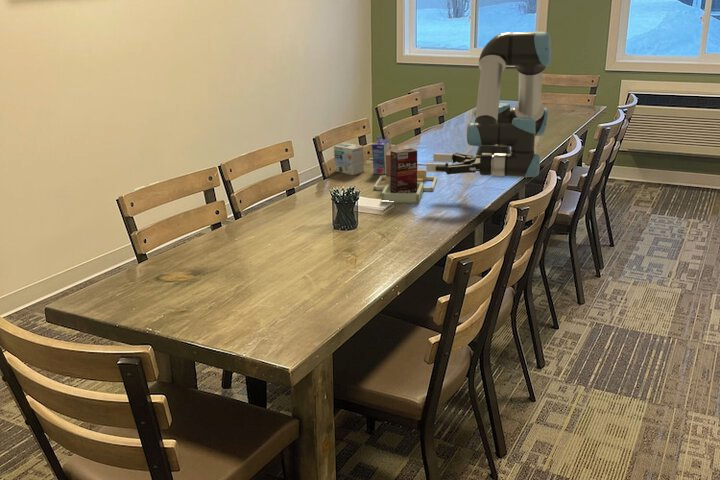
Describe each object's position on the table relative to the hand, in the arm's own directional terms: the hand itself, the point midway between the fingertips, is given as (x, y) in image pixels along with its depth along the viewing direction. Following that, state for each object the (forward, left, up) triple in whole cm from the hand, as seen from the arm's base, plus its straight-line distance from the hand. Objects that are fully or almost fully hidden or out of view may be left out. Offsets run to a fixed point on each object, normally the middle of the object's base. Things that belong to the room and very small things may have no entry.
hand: (430, 162), depth 236 cm
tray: (+10, -1, -13) cm, 16 cm away
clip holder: (+11, -17, -13) cm, 24 cm away
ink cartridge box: (+23, -36, -13) cm, 44 cm away
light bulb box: (+36, -34, -13) cm, 52 cm away
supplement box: (+9, -1, -12) cm, 15 cm away
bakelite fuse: (+16, -17, -13) cm, 26 cm away
